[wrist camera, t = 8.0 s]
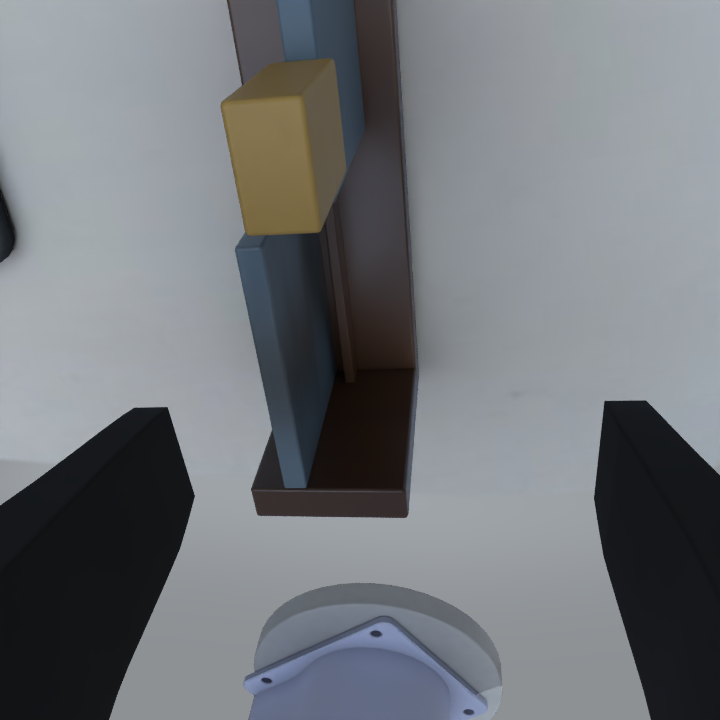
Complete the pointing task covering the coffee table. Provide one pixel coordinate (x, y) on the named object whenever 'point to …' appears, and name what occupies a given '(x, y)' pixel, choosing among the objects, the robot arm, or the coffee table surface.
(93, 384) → the coffee table surface
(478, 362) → the coffee table surface
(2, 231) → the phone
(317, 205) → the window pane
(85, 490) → the robot arm
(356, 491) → the window frame
